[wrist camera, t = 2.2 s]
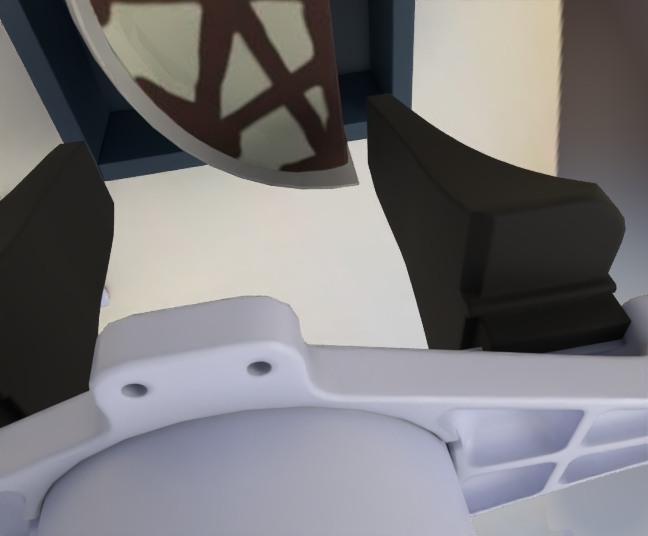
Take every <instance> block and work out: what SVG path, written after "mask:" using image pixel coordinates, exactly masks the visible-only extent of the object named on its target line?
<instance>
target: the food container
mask: <svg viewBox="0 0 648 536" xmlns="http://www.w3.org/2000/svg"><path fill="white" fill-rule="evenodd" d="M66 3H67V6H68V8H69V11H70V13H71V16H72V19H73V21H74V23H75V24H76V26H77V28H78V30H79V32H80V34H81V35H82V37H83V39H84V41H85V43H86V45H87V46H88V48H89V50H90V52H91V54H92V56H93V57H94V59H95V60H96V62H97V63H98V64H99V66H100V67H101V68H102V70H103V71H104V73H105V74H106V75H107V77H108V78H109V79H110V81H111V82H112V83H113V85H114V86H115V87H116V89H117V90H118V91H119V93H120V94H121V95H122V96H123V97H124V98H125V99H126V100H127V101H128V102H129V103H130V104H131V106H132V107H133V108H134V109H135V110H136V111H137V112H138V113H139V114H140V115H141V116H142V117H143V118H144V119H145V120H146V121H147V122H148V123H149V124H150V125H151V126H152V127H153V128H154V129H156V130H157V131H158V132H160V133H161V134H162V135H164V136H165V137H166V138H167V139H169V140H170V141H171V142H173V143H174V144H175V145H177V146H178V147H179V148H181V149H182V150H184V151H185V152H187V153H189V154H191V155H192V156H194V157H196V158H198V159H199V160H201V161H203V162H205V163H206V164H208V165H210V166H212V167H215V168H217V169H220V170H222V171H225V172H227V173H230V174H232V175H235V176H237V177H240V178H243V179H247V180H251V181H255V182H259V183H263V184H267V185H271V186H279V187H287V188H296V189H333V188H341V187H348V186H355V185H359V181H358V178H357V174H356V171H355V168H354V164H353V161H352V158H351V154H350V151H349V148H348V144H347V138H346V135H345V131H344V124H343V117H342V109H341V100H340V91H339V82H338V74H337V65H336V57H335V49H334V41H333V32H332V22H331V13H330V4H329V0H66Z"/></svg>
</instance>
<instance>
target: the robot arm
mask: <svg viewBox="0 0 648 536" xmlns="http://www.w3.org/2000/svg"><path fill="white" fill-rule="evenodd" d="M366 110H367V146H368V165H369V169H370V173H371V177H372V180H373V184H374V188H375V191H376V194H377V197H378V199H379V202H380V204H381V206H382V209H383V211H384V213H385V216H386V218H387V221H388V223H389V225H390V228H391V230H392V232H393V235H394V237H395V239H396V242H397V244H398V246H399V249H400V251H401V253H402V256H403V259H404V261H405V264H406V267H407V271H408V274H409V278H410V281H411V284H412V288H413V291H414V295H415V298H416V302H417V306H418V309H419V313H420V317H421V320H422V324H423V328H424V332H425V336H426V340H427V344H428V347H429V349H411V348H385V347H359V346H333V345H309V344H306V343H305V342H304V339H303V337H302V334H301V329H300V324H299V319H298V317H297V316H296V314H295V313H294V311H293V310H292V308H291V307H290V305H288V304H286V303H283V302H281V301H279V300H276V299H274V298H271V297H269V296H239V297H233V298H227V299H221V300H216V301H210V302H204V303H198V304H192V305H186V306H180V307H174V308H168V309H162V310H157V311H151V312H145V313H139V314H133V315H130V316H128V317H125V318H122V319H120V320H117V321H114V322H112V323H109V324H108V325H107V326H106V327H105V328H104V330H103V331H102V332H101V333H100V334H99V336H98V326H99V314H100V307H103V306H106V305H108V304H109V300H110V297H109V294H108V293H107V291H106V289H105V288H104V285H105V280H106V274H107V269H108V264H109V259H110V253H111V248H112V242H113V236H114V202H113V200H112V198H111V196H110V194H109V191H108V189H107V187H106V185H105V183H104V181H103V179H102V177H101V174H100V172H99V170H98V168H97V166H96V164H95V162H94V160H93V158H92V155H91V153H90V151H89V149H88V147H87V145H86V143H85V141H77V142H71V143H64V144H60V145H58V146H57V147H56V148H55V149H53V150H52V151H51V152H50V153H49V154H48V155H47V156H46V157H45V158H44V159H43V160H42V161H41V162H40V163H39V164H38V165H37V166H36V167H35V168H34V169H33V170H32V171H31V172H30V173H29V174H28V175H27V176H26V177H25V178H24V179H23V180H22V181H21V182H20V183H19V184H18V185H17V186H16V187H15V188H14V189H13V190H12V191H11V192H10V193H9V194H8V195H6V196H5V197H4V198H3V199H2V200H1V201H0V536H477V535H476V532H475V529H474V526H473V523H472V520H471V517H472V516H475V515H479V514H482V513H485V512H488V511H492V510H495V509H498V508H501V507H504V506H508V505H511V504H514V503H517V502H521V501H524V500H527V499H530V498H534V497H537V496H540V495H543V494H546V493H550V492H553V491H556V490H559V489H562V488H565V487H569V486H572V485H575V484H579V483H581V482H585V481H588V480H592V479H595V478H599V477H602V476H606V475H609V474H612V473H616V472H619V471H623V470H626V469H630V468H634V467H638V466H642V465H646V464H648V295H644V296H639V297H635V298H632V299H630V300H629V301H627V302H625V303H624V304H623V305H622V306H621V305H620V304H619V302H618V301H617V300H616V298H615V297H614V295H613V294H612V293H614V292H615V291H616V284H615V282H614V281H613V280H612V278H611V277H610V275H609V274H608V272H609V270H610V268H611V265H612V263H613V261H614V259H615V256H616V254H617V252H618V250H619V247H620V245H621V243H622V240H623V237H624V233H625V220H624V217H623V216H622V214H621V213H620V211H619V210H618V208H617V207H616V206H615V205H614V203H613V202H612V201H611V200H610V198H609V197H608V196H607V195H606V194H605V193H604V192H603V190H602V189H601V188H600V187H599V186H598V185H597V184H595V183H590V182H583V181H577V180H571V179H565V178H559V177H555V176H550V175H546V174H542V173H538V172H534V171H531V170H527V169H524V168H520V167H517V166H514V165H511V164H509V163H506V162H503V161H500V160H497V159H495V158H492V157H490V156H488V155H485V154H483V153H481V152H479V151H477V150H475V149H473V148H470V147H468V146H466V145H464V144H463V143H461V142H459V141H457V140H456V139H454V138H452V137H450V136H449V135H447V134H445V133H444V132H442V131H441V130H439V129H438V128H436V127H435V126H433V125H432V124H430V123H429V122H427V121H426V120H424V119H423V118H422V117H420V116H419V115H418V114H416V113H415V112H414V111H412V110H411V109H410V108H408V107H407V106H406V105H404V104H403V103H402V102H401V101H399V100H398V99H397V98H395V97H394V96H393V95H391V94H390V93H388V94H382V95H375V96H369V97H366Z"/></svg>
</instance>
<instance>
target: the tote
mask: <svg viewBox="0 0 648 536" xmlns="http://www.w3.org/2000/svg"><path fill="white" fill-rule="evenodd" d="M329 4H330V13H331V22H332V32H333V41H334V49H335V57H336V65H337V74H338V82H339V91H340V100H341V109H342V117H343V124H344V131H345V135H346V138H347V142H348V141H354V140H360V139H367V110H366V97H369V96H375V95H382V94H388V93H390V94H391V95H393V96H394V97H395V98H397V99H398V100H399V101H401V102H402V103H403V104H404V105H406V106H407V107H408V108H410V109H411V107H412V77H413V46H414V16H415V0H329ZM0 19H1V21H2V23H3V25H4V27H5V29H6V31H7V33H8V35H9V37H10V39H11V41H12V43H13V45H14V47H15V49H16V51H17V53H18V55H19V56H20V58H21V60H22V62H23V64H24V66H25V68H26V70H27V72H28V74H29V76H30V78H31V80H32V82H33V84H34V86H35V88H36V90H37V92H38V94H39V95H40V97H41V99H42V101H43V103H44V105H45V107H46V109H47V111H48V113H49V115H50V117H51V119H52V121H53V123H54V125H55V127H56V129H57V131H58V132H59V134H60V136H61V138H62V140H63V142H64V143H71V142H77V141H85V143H86V145H87V147H88V149H89V151H90V153H91V155H92V158H93V160H94V162H95V164H96V166H97V168H98V170H99V172H100V174H101V177H102V179H103V181H111V180H117V179H123V178H130V177H136V176H142V175H148V174H154V173H160V172H166V171H172V170H178V169H184V168H190V167H196V166H202V165H208V164H206V163H205V162H203V161H201V160H199V159H198V158H196V157H194V156H192V155H191V154H189V153H187V152H185V151H184V150H182V149H181V148H179V147H178V146H177V145H175V144H174V143H173V142H171V141H170V140H169V139H167V138H166V137H165V136H164V135H162V134H161V133H160V132H158V131H157V130H156V129H154V128H153V127H152V126H151V125H150V124H149V123H148V122H147V121H146V120H145V119H144V118H143V117H142V116H141V115H140V114H139V113H138V112H137V111H136V110H135V109H134V108H133V107H132V106H131V104H130V103H129V102H128V101H127V100H126V99H125V98H124V97H123V96H122V95H121V94H120V93H119V91H118V90H117V89H116V87H115V86H114V85H113V83H112V82H111V81H110V79H109V78H108V77H107V75H106V74H105V73H104V71H103V70H102V68H101V67H100V66H99V64H98V63H97V62H96V60H95V59H94V57H93V56H92V54H91V52H90V50H89V48H88V46H87V45H86V43H85V41H84V39H83V37H82V35H81V34H80V32H79V30H78V28H77V26H76V24H75V23H74V21H73V19H72V16H71V13H70V11H69V8H68V6H67V3H66V0H0Z"/></svg>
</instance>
